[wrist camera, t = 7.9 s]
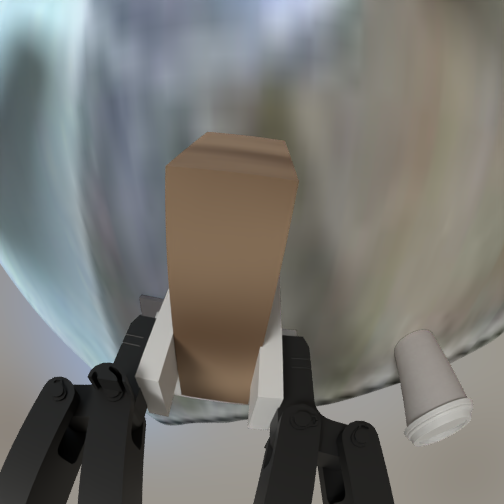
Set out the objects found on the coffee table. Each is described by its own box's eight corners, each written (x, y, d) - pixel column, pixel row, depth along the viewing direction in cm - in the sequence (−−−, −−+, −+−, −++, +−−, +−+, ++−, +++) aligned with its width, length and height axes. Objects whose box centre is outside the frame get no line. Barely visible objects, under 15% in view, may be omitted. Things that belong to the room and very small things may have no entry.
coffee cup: (379, 368, 38) (398, 454, 26) (391, 327, 33) (422, 427, 21) (431, 357, 37) (458, 435, 24) (449, 316, 32) (490, 403, 19)
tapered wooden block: (147, 129, 10) (77, 163, 6) (346, 152, 10) (397, 200, 6) (169, 382, 20) (155, 438, 16) (272, 396, 20) (271, 454, 16)
